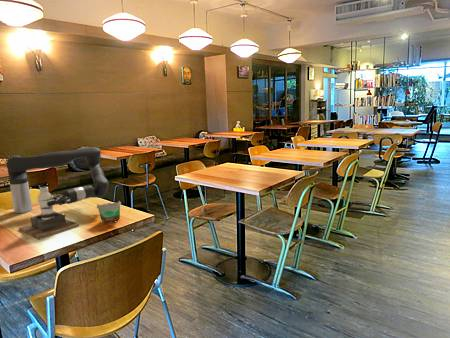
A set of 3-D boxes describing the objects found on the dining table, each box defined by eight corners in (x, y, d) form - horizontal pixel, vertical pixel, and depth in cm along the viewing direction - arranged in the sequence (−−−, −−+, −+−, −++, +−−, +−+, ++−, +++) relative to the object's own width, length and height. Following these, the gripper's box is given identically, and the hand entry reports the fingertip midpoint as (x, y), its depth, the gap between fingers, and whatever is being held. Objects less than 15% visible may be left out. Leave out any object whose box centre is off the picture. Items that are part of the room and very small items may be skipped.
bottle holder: (18, 229, 174) (17, 218, 173) (57, 218, 189) (56, 207, 188) (39, 239, 161) (37, 226, 159) (79, 225, 176) (77, 214, 175)
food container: (100, 225, 175) (98, 207, 173) (98, 222, 181) (96, 204, 179) (124, 221, 181) (122, 203, 179) (122, 217, 186) (120, 200, 184)
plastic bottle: (50, 228, 171) (45, 189, 167) (38, 227, 172) (33, 188, 168) (59, 223, 177) (54, 185, 173) (47, 223, 179) (42, 185, 175)
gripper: (66, 186, 187) (35, 193, 175) (80, 190, 179) (49, 197, 166) (68, 199, 189) (37, 207, 176) (82, 203, 180) (51, 212, 168)
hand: (43, 202), depth 171 cm, fingers open, 8 cm apart
